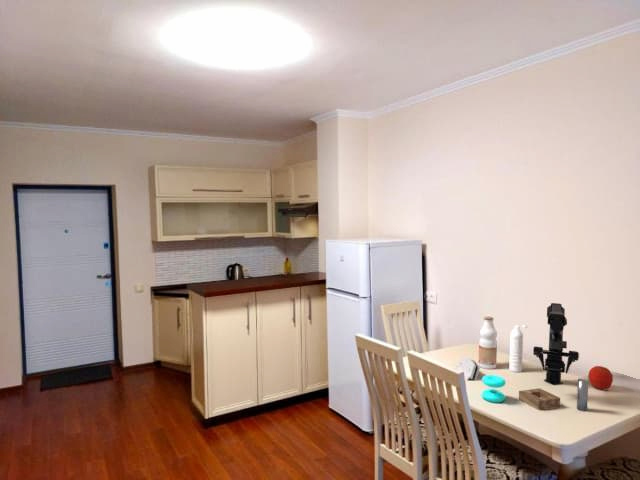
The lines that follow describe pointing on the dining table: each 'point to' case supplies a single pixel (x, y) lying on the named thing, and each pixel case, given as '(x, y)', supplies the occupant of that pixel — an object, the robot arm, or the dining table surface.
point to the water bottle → (516, 349)
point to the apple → (600, 377)
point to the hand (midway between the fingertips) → (555, 371)
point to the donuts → (493, 394)
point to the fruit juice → (488, 345)
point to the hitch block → (539, 399)
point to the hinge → (468, 368)
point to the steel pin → (582, 395)
